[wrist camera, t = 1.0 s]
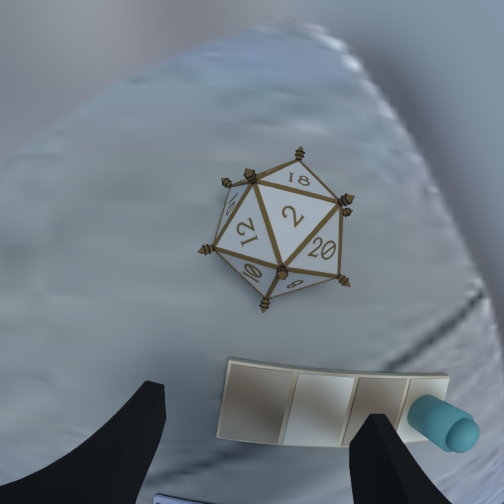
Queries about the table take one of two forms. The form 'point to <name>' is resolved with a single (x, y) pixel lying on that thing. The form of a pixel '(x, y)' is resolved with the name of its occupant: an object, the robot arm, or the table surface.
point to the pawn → (443, 424)
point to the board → (316, 403)
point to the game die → (282, 230)
